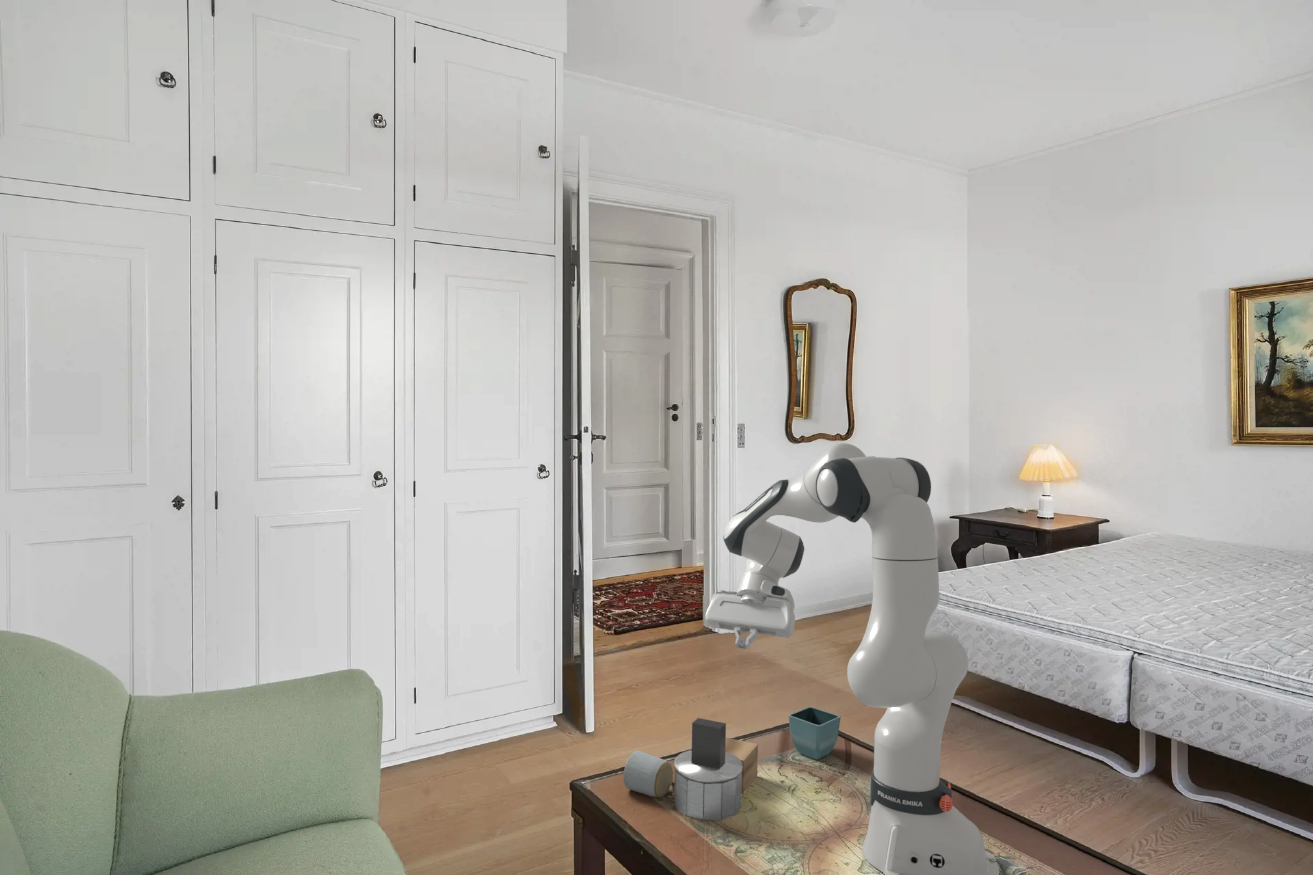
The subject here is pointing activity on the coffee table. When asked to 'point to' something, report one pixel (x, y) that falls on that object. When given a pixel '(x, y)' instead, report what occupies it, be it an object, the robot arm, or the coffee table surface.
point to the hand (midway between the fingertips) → (741, 647)
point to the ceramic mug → (647, 774)
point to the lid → (708, 755)
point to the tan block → (744, 759)
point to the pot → (707, 798)
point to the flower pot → (814, 731)
